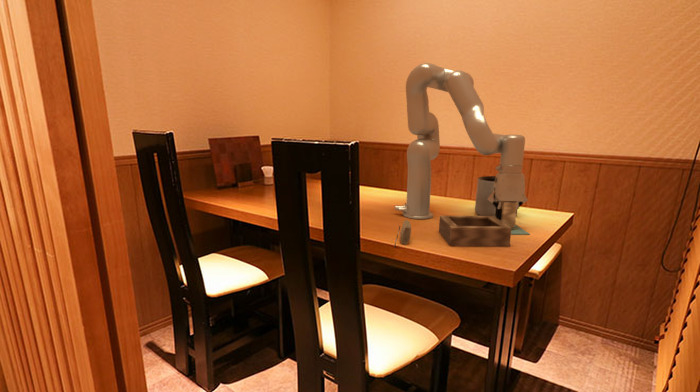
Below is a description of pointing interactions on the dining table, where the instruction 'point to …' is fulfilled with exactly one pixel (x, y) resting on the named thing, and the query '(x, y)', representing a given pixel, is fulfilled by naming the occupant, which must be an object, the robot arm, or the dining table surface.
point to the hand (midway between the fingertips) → (505, 218)
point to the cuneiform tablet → (405, 232)
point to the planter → (485, 196)
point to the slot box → (474, 231)
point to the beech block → (509, 213)
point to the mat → (518, 231)
